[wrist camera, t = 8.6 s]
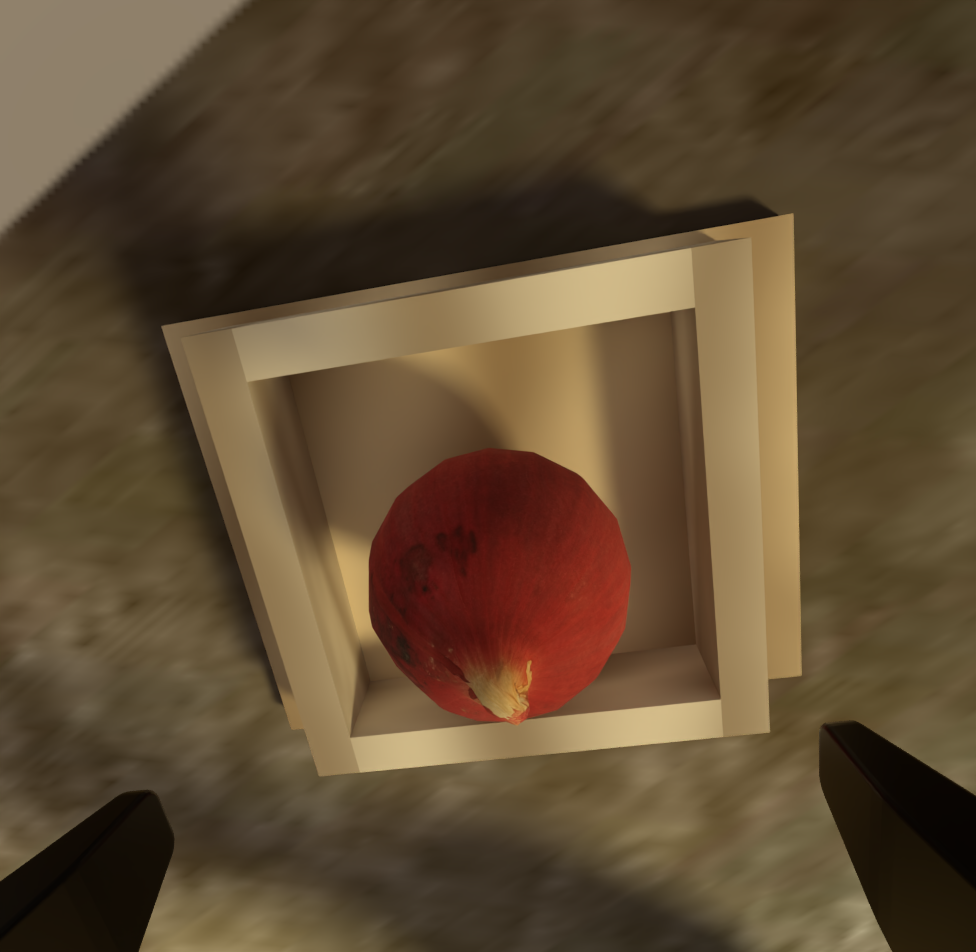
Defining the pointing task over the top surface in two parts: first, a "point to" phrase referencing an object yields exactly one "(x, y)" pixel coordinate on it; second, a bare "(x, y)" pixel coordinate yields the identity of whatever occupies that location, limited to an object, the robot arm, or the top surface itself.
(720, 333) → the tray
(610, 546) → the onion
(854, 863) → the robot arm
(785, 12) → the top surface
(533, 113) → the top surface
